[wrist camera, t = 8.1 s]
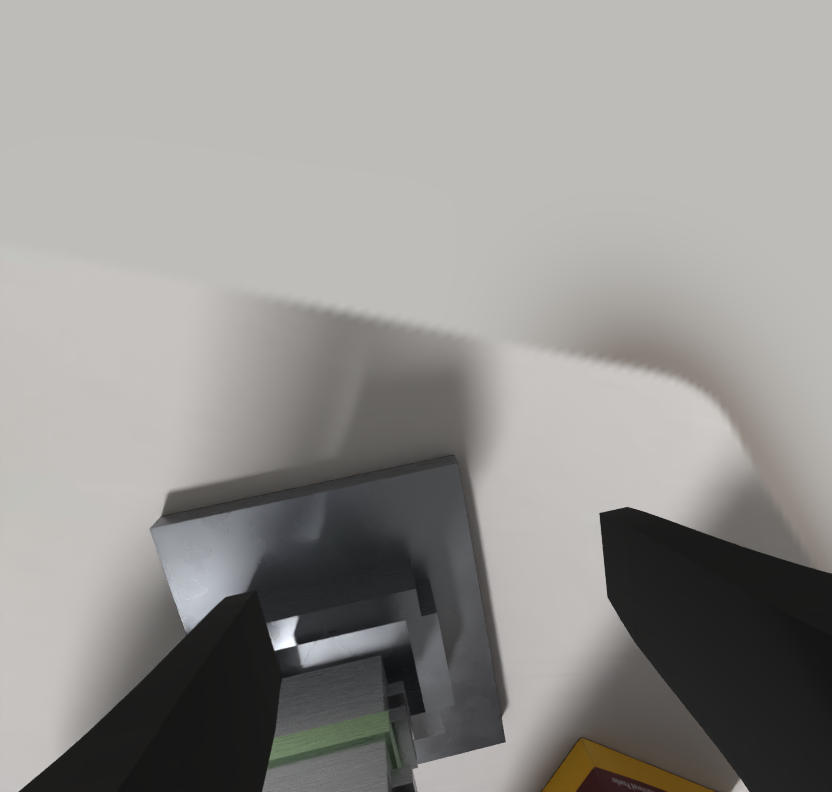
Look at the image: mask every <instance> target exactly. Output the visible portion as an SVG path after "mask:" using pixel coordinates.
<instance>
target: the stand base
mask: <svg viewBox="0 0 832 792" xmlns="http://www.w3.org/2000/svg"><path fill="white" fill-rule="evenodd" d="M150 532H151V534H152V537H153V540H154V543H155V546H156V549H157V552H158V555H159V557H160V560H161V563H162V566H163V569H164V572H165V575H166V578H167V581H168V583H169V586H170V589H171V592H172V595H173V598H174V601H175V604H176V606H177V609H178V612H179V615H180V618H181V621H182V624H183V627H184V629H185V632H186V635H188V634H189V632H190V631H191V630H192V629H193V628H194V627H195V626H196V625H197V624H198V623H199V622H200V621H201V620H202V619H203V618H204V617H205V616H206V615H207V614H208V613H209V612H210V611H211V610H212V609H213V608H214V607H215V606H216V605H217V604H218V603H219V602H221V601H222V600H223V599H224V598H225V597H227V596H232V595H236V594H241V593H245V592H250V591H254V590H256V591H257V594H258V598H259V601H260V605H261V608H262V611H263V615H264V618H265V621H266V625H267V628H268V631H269V635H270V638H271V641H272V645H273V648H274V651H275V655H276V658H277V662H278V665H279V668H280V672H281V683H282V678H286V677H290V676H295V675H299V674H303V673H307V672H311V671H316V670H320V669H324V668H328V667H333V666H337V665H341V664H345V663H349V662H354V661H358V660H362V659H366V658H371V657H375V656H379V655H381V657H382V661H383V665H384V670H385V674H386V678H387V682H388V684H391V683H396V682H400V681H403V684H404V688H405V693H406V697H407V701H408V706H409V710H410V715H411V719H412V724H413V730H414V738H415V739H414V740H413V741H414V746H415V750H416V756H417V764H421V763H425V762H429V761H433V760H437V759H441V758H445V757H449V756H453V755H457V754H461V753H464V752H468V751H472V750H476V749H480V748H484V747H488V746H492V745H496V744H500V743H504V742H506V741H505V735H504V729H503V724H502V718H501V712H500V706H499V700H498V694H497V688H496V682H495V676H494V671H493V665H492V659H491V653H490V647H489V641H488V635H487V629H486V623H485V618H484V612H483V606H482V600H481V594H480V588H479V582H478V576H477V570H476V565H475V559H474V553H473V547H472V541H471V535H470V529H469V523H468V517H467V512H466V506H465V500H464V494H463V488H462V482H461V476H460V470H459V464H458V462H457V460H456V458H455V456H454V455H450V456H446V457H441V458H436V459H431V460H427V461H422V462H417V463H412V464H408V465H403V466H398V467H394V468H389V469H384V470H379V471H375V472H370V473H365V474H360V475H356V476H351V477H346V478H341V479H337V480H332V481H327V482H323V483H318V484H313V485H308V486H304V487H299V488H294V489H289V490H285V491H280V492H275V493H270V494H266V495H261V496H256V497H251V498H247V499H242V500H237V501H233V502H228V503H223V504H218V505H214V506H209V507H204V508H199V509H195V510H190V511H185V512H180V513H176V514H171V515H166V516H161V517H160V518H159V519H158V520H157V521H156V522H155V523H154V525H153V526H152V527H151V528H150ZM281 683H280V688H281Z"/></svg>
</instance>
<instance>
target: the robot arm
mask: <svg viewBox="0 0 832 792" xmlns="http://www.w3.org/2000/svg"><path fill="white" fill-rule="evenodd" d="M599 514H600V524H601V534H602V545H603V555H604V565H605V576H606V586H607V596H608V599H609V600H610V602H611V604H612V606H613V607H614V609H615V611H616V612H617V614H618V616H619V617H620V619H621V621H622V622H623V624H624V626H625V627H626V629H627V630H628V632H629V634H630V635H631V637H632V638H633V640H634V642H635V643H636V644H637V646H638V647H639V648H640V649H641V651H642V652H643V653H644V655H645V656H646V657H647V659H648V660H649V661H650V662H651V664H652V665H653V666H654V668H655V669H656V670H657V671H658V673H659V674H660V675H661V677H662V678H663V679H664V680H665V682H666V683H667V684H668V685H669V687H670V688H671V689H672V690H673V692H674V693H675V694H676V695H677V697H678V698H679V699H680V701H681V702H682V703H683V704H684V706H685V707H686V708H687V709H688V711H689V712H690V713H691V714H692V716H693V717H694V718H695V719H696V721H697V722H698V723H699V725H700V726H701V727H702V728H703V730H704V731H705V732H706V733H707V735H708V736H709V737H710V738H711V740H712V741H713V742H714V744H715V745H716V746H717V747H718V749H719V750H720V751H721V753H722V754H723V755H724V757H725V758H726V759H727V761H728V762H729V763H730V765H731V766H732V767H733V769H734V770H735V771H736V773H737V774H738V776H739V777H740V778H741V780H742V781H743V783H744V784H745V786H746V787H747V789H748V790H749V792H832V574H831V573H827V572H823V571H820V570H816V569H813V568H809V567H805V566H802V565H799V564H795V563H792V562H789V561H786V560H782V559H779V558H776V557H773V556H770V555H766V554H763V553H760V552H757V551H754V550H751V549H748V548H745V547H742V546H739V545H736V544H733V543H730V542H727V541H724V540H721V539H719V538H716V537H713V536H710V535H707V534H705V533H702V532H699V531H696V530H694V529H691V528H688V527H685V526H683V525H680V524H677V523H674V522H672V521H669V520H666V519H663V518H661V517H658V516H655V515H652V514H649V513H646V512H643V511H640V510H637V509H633V508H629V507H625V508H621V509H616V510H612V511H607V512H603V513H599ZM280 683H281V672H280V668H279V665H278V662H277V658H276V655H275V651H274V648H273V645H272V641H271V638H270V635H269V631H268V628H267V625H266V621H265V618H264V615H263V611H262V608H261V605H260V601H259V598H258V594H257V591H256V590H254V591H250V592H245V593H241V594H236V595H232V596H227V597H225V598H224V599H223V600H222V601H221V602H219V603H218V604H217V605H216V606H215V607H214V608H213V609H212V610H211V611H210V612H209V613H208V614H207V615H206V616H205V617H204V618H203V619H202V620H201V621H200V622H199V623H198V624H197V625H196V626H195V627H194V628H193V629H192V630H191V631H190V632H189V634H188V635H187V636H186V637H185V638H184V639H183V640H182V641H181V642H180V643H179V644H178V645H177V646H176V647H175V648H174V649H173V650H172V651H171V652H170V653H169V654H168V655H167V656H166V657H165V658H164V659H163V660H162V661H161V662H160V663H159V664H158V665H157V666H156V667H155V668H154V669H153V670H152V671H151V672H150V673H149V674H148V675H147V676H146V677H145V678H144V679H143V680H142V681H141V682H140V683H139V684H138V685H137V686H136V687H135V688H134V689H133V690H132V691H131V692H130V693H129V694H128V695H127V696H126V697H125V698H123V699H122V700H121V701H120V702H119V703H118V704H117V705H116V706H115V707H114V708H113V709H112V710H111V711H110V712H109V713H108V714H107V715H106V716H105V717H104V718H103V719H102V720H100V721H99V722H98V723H97V724H96V725H95V726H94V727H93V728H92V729H91V730H90V731H89V732H88V733H86V734H85V735H84V736H83V737H82V738H81V739H80V740H79V741H78V742H76V743H75V744H74V745H73V746H72V747H71V748H70V749H69V750H67V751H66V752H65V753H64V754H63V755H62V756H61V757H59V758H58V759H57V760H56V761H55V762H53V763H52V764H51V765H50V766H49V767H48V768H46V769H45V770H44V771H43V772H42V773H40V774H39V775H38V776H37V777H36V778H34V779H33V780H32V781H31V782H30V783H28V784H27V785H26V786H25V787H24V788H23V789H21V790H20V791H19V792H262V790H263V786H264V781H265V777H266V772H267V768H268V763H269V759H270V754H271V749H272V745H273V740H274V735H275V730H276V723H277V714H278V705H279V694H280Z"/></svg>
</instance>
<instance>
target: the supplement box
mask: <svg viewBox="0 0 832 792" xmlns="http://www.w3.org/2000/svg"><path fill="white" fill-rule="evenodd" d="M542 792H715V791H713V790H710V789H708V788H705V787H703V786H700V785H698V784H695V783H693V782H690V781H688V780H686V779H683V778H681V777H678V776H676V775H673V774H671V773H668V772H666V771H664V770H661V769H659V768H656V767H654V766H651V765H649V764H646V763H644V762H641V761H639V760H636V759H634V758H631V757H629V756H626V755H624V754H621V753H619V752H616V751H614V750H611V749H609V748H606V747H604V746H602V745H599V744H597V743H594V742H592V741H589V740H587V739H584V738H581V739H579V741H578V742H577V743H576V745H575V746H574V748H573V749H572V750H571V752H570V753H569V754H568V756H567V757H566V759H565V760H564V761H563V763H562V764H561V766H560V767H559V768H558V770H557V771H556V773H555V774H554V775H553V777H552V778H551V780H550V781H549V782H548V784H547V785H546V787H545V788H544V789H543V791H542Z"/></svg>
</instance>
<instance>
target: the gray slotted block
mask: <svg viewBox="0 0 832 792" xmlns="http://www.w3.org/2000/svg"><path fill="white" fill-rule="evenodd" d="M414 739H415V738H414V730H413V724H412V719H411V715H410V710H409V706H408V701H407V697H406V693H405V688H404V684H403V681H400V682H396V683H391V684H388V682H387V678H386V674H385V670H384V665H383V661H382V657H381V655H379V656H375V657H371V658H366V659H362V660H358V661H354V662H349V663H345V664H341V665H337V666H333V667H328V668H324V669H320V670H316V671H311V672H307V673H303V674H299V675H295V676H290V677H286V678H282V683H281V688H280V694H279V705H278V714H277V723H276V730H275V735H274V740H273V745H272V749H271V754H270V759H269V763H268V768H267V772H266V777H265V781H264V786H263V790H262V792H418V791H417V787H416V783H415V778H414V774H413V770H412V769H414V768H418V765H417V756H416V750H415V746H414V741H413V740H414Z"/></svg>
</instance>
